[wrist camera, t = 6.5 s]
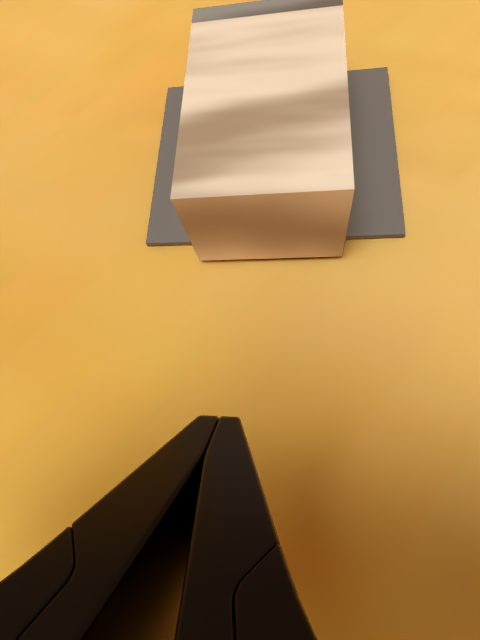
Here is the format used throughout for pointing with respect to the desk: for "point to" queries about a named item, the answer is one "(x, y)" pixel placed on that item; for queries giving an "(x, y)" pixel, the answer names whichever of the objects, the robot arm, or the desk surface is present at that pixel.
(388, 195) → the mat
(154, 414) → the desk surface
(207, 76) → the cream block
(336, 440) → the desk surface
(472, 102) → the desk surface
